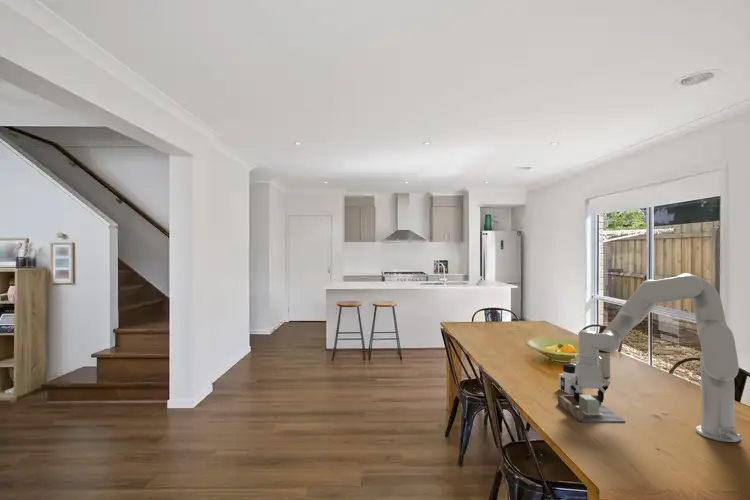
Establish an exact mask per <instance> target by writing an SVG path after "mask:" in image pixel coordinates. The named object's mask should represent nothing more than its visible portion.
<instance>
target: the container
mask: <svg viewBox="0 0 750 500" xmlns="http://www.w3.org/2000/svg"><path fill="white" fill-rule="evenodd" d="M575 367H576V364H572V363H571V362H569V363H567V362H566V363H564V364H563V366H562V368H563V371H562V372H563V373H558V390H559V389H560V390H559V391H561V390H562V391H561V392H563V391H564V393H565V392H566V394H567V395H574V391H573V390H572V389H571V388H570V386H569V384H568V382H567V381H568V380H570V379H572V378H574V375H575ZM572 384H573V386H575V384H574V382H573V383H572ZM578 392H579V393H580V394H584V388H581V389H580V390H579V391H578Z"/></svg>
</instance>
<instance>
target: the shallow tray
mask: <svg viewBox="0 0 750 500" xmlns="http://www.w3.org/2000/svg"><path fill="white" fill-rule="evenodd" d="M590 395H591V396H592V397H593V398H595V399H596V400H598V394H590ZM598 401H599V400H598ZM557 404H558V405H559V406H560V405H561V406H562V407H563V408H564V409H565V410H564V409H563V408H562V407H561V406H560V407H561V408H562V409H563V410H564V411H566V412H567V413H568V414H569V415H570V414H571V415H572V416H571V415H570V416H571V417H573V419H575V420H576V421H577V422H578V423H620V424H621V423H626V420H624V419H623V418H622V417H620V416H619V415H617V413H616V412H615V413H614V411H612V410H611V409H609V408H608V407H606V406H605V405H604V404H602V402H600V401H599V414H588V413H586V412H585V411H584V410H583V409H581V408H580V407H579V402H577V401H575V399H574V394H558V395H557Z"/></svg>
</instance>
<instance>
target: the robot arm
mask: <svg viewBox="0 0 750 500" xmlns="http://www.w3.org/2000/svg"><path fill="white" fill-rule="evenodd" d="M688 299H690V300H691V302H692V305H693V306H692V307H693V311H694V316H695V321H696V322H695V323H696V334H697V337H698V338H699V342H700V348H701V355H700V359H699V364H700V365H699V366H700V424H699V425H696V427H695V432H697V434H699V435H700V436H703V437H705V438H708V439H710V440H713V441H718V442H723V443H737V442H740V441H741V439H742V435H741V434H739V433H738V432H737V428H736V427H735V422H736V421H735V393H736V392H735V390H736V389H735V378H736V377H737V376H738V374H739V371H740V365H739V359H738V353H737V347H736V341H735V335H734V333H733V331H732V330H731V328H730V327H729V326H728V324H727V322H726V321H727V320H726V317H725V316H726V315H725V311H724V308H723V303H722V299H721V296H720V293H719V292H718V290H717V289H716V287H715V286H713V284H711V283H710V282H709V281H707V280H706V279H705V278H703V277H701V276H699V275H695V274H694V273H693V274H692V273H689V272H686V273H680V274H678V275H676V276H673V277H668V278H661V279H645V280H644V281H642V282H641V283H640V284H639V286H637V288H636V289H635V290H634V292H633V293H632V294H631V296H629V298H628V299H627V300H626V302H625V303H624V304H623V305H622V307H620V309H619V311H618V312H617V314H616V315H615V316H614V318H613V319H612V320H611V321H610V323H609V324H608V325H607V326H606V327H605V329H604V330H603V331H602V332H600V333H599V332H598V331H596V330H591V329H581V330H579V332H578V355H579V362H577V363H576V367H575V375H574V378H572V379H570V380H568V381H567V382H568V384H569V386H570V388H571V389H572V390H573V391H574V394H573V395H574V399H575V401H577V402H580V395H581V393H579V392H578V391H579V390H580V389H581V388H583V389H597V395H598V400H599V401H600V402H601V403H604V400H605V398H604V397H605V393H606V391H607V390H608V389H609V386H610V385H611V381H609V380H608V379H606V378H603V377H602V370H601V366H600V364H599V361H602V358H601V357H599V350H602V351H607V352H610V353H613V352H616V351H618V349H619V348H620V345H621V342H622V341H623V340H624V338H625V337H626V336H627V335H628V334H629V332H630V331H632V329H633V328H634V327H636V326H637V325H639V324H640V323H641V322H643V321H644V320H645V318H646V317H647V316H648V315H649V313H650V312H651V311H652V310H653V309H654V308H655V306H656V305H657V304H659V303H668V302H675V301H681V300H688ZM573 382H574V384H575V386H573V384H572V383H573ZM603 382H604V384H603Z"/></svg>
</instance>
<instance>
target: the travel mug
mask: <svg viewBox="0 0 750 500" xmlns="http://www.w3.org/2000/svg"><path fill="white" fill-rule="evenodd" d="M599 357H601V358H602V361H599V364H600V366H601V370H602V378H604V379H606V378H610V377H611V352H607V351H602V350H599Z"/></svg>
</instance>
